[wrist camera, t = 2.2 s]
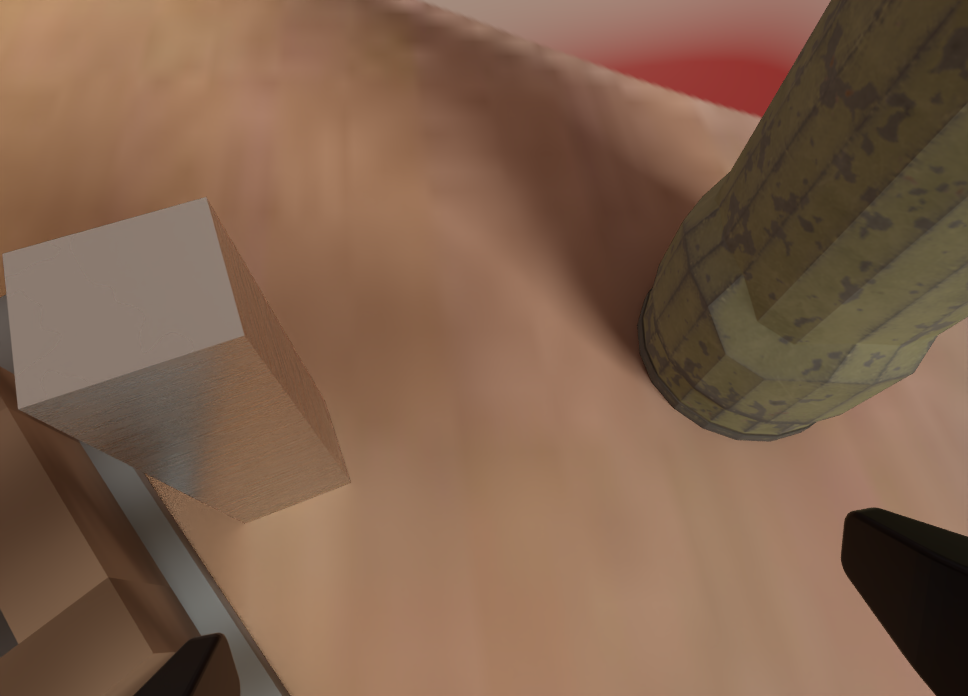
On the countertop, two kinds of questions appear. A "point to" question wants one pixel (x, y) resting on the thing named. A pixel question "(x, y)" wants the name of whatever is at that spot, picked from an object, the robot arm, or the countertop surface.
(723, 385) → the olive cylinder
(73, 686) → the slotted post block
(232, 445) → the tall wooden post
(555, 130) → the countertop surface
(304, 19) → the countertop surface
